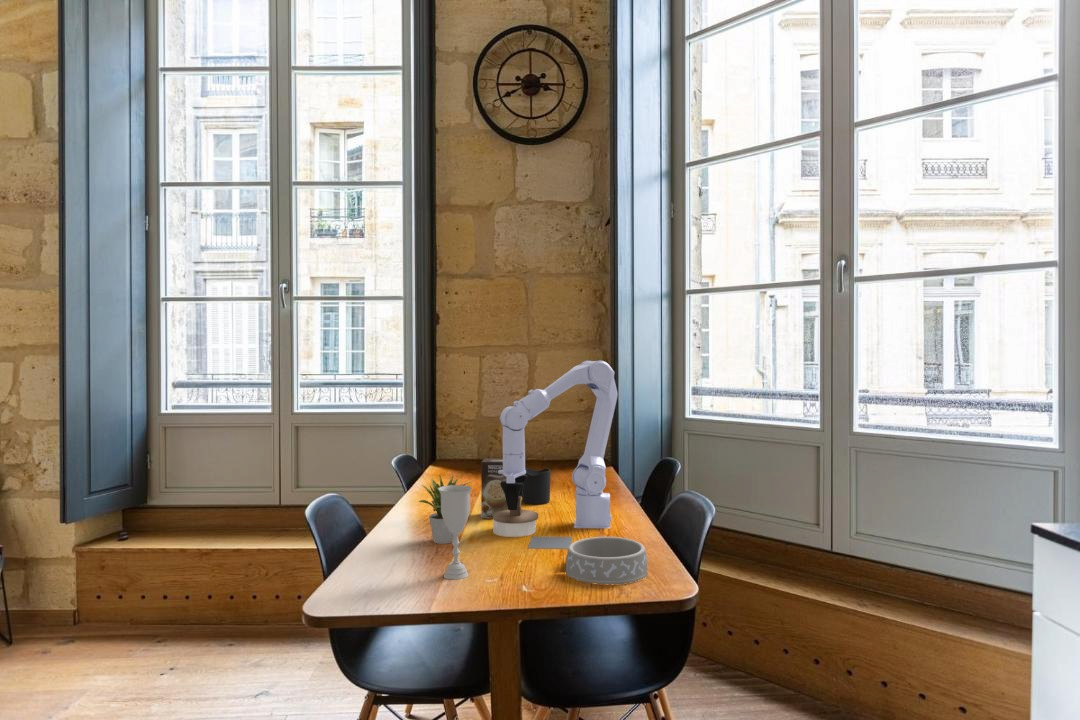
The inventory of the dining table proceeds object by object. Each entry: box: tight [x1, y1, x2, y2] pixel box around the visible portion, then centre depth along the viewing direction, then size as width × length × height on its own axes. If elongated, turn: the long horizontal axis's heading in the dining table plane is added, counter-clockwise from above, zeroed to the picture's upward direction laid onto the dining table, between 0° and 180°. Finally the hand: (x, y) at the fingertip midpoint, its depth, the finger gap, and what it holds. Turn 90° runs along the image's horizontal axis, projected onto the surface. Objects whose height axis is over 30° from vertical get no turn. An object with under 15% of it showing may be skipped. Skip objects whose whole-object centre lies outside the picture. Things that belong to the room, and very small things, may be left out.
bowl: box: [492, 518, 537, 538], centre depth 167 cm, size 11×11×4 cm
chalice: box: [439, 484, 473, 580], centre depth 135 cm, size 7×7×18 cm
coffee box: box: [480, 457, 508, 519], centre depth 185 cm, size 9×6×16 cm
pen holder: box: [521, 467, 552, 506], centre depth 204 cm, size 9×9×10 cm
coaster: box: [527, 536, 573, 550], centre depth 156 cm, size 10×10×1 cm
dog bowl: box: [565, 536, 649, 585], centre depth 137 cm, size 17×18×5 cm
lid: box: [492, 496, 539, 523], centre depth 167 cm, size 12×12×5 cm
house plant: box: [417, 474, 472, 545], centre depth 159 cm, size 14×14×16 cm
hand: (514, 506), depth 167 cm, fingers open, 7 cm apart
